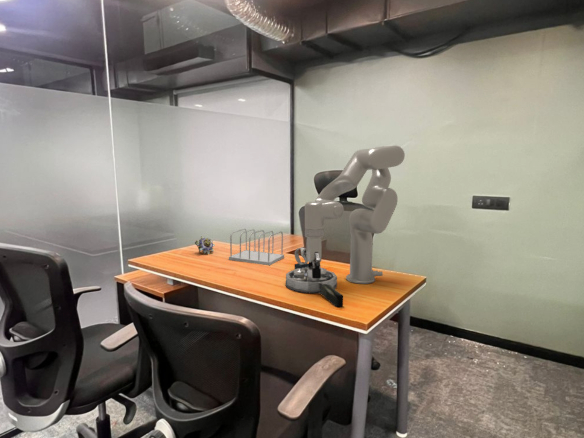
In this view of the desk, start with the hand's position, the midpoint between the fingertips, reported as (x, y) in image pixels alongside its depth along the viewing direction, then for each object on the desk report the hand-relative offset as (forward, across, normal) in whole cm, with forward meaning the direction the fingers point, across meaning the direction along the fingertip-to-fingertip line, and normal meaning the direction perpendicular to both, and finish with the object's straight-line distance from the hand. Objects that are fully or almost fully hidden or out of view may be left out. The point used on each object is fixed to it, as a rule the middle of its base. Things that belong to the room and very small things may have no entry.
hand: (314, 274), depth 141 cm
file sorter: (+7, -51, -23) cm, 57 cm away
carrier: (+6, -5, -1) cm, 8 cm away
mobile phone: (+6, +13, +4) cm, 15 cm away
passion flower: (+6, -67, -54) cm, 86 cm away
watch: (+7, -27, -2) cm, 28 cm away
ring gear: (+5, -5, -1) cm, 7 cm away
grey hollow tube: (+5, 0, -1) cm, 5 cm away
